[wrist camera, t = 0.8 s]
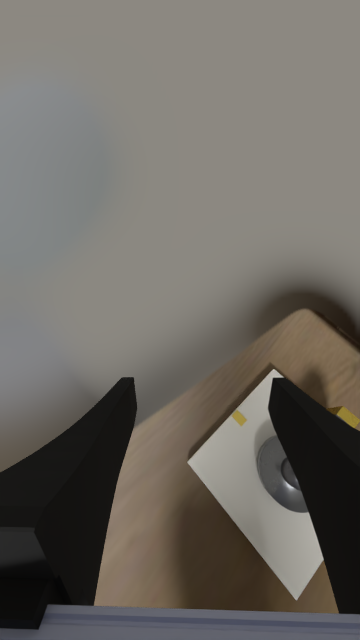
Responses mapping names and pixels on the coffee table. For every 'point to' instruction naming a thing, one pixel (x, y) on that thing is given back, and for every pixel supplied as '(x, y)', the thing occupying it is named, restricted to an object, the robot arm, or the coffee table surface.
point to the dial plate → (257, 491)
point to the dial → (288, 468)
